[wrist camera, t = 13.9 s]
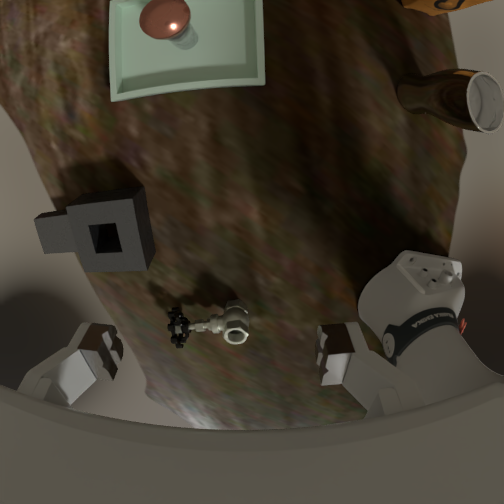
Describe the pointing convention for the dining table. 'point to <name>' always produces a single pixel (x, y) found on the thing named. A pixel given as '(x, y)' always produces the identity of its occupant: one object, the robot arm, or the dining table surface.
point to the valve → (212, 324)
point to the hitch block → (102, 230)
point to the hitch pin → (169, 23)
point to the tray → (187, 61)
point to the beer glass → (455, 98)
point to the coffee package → (439, 5)
